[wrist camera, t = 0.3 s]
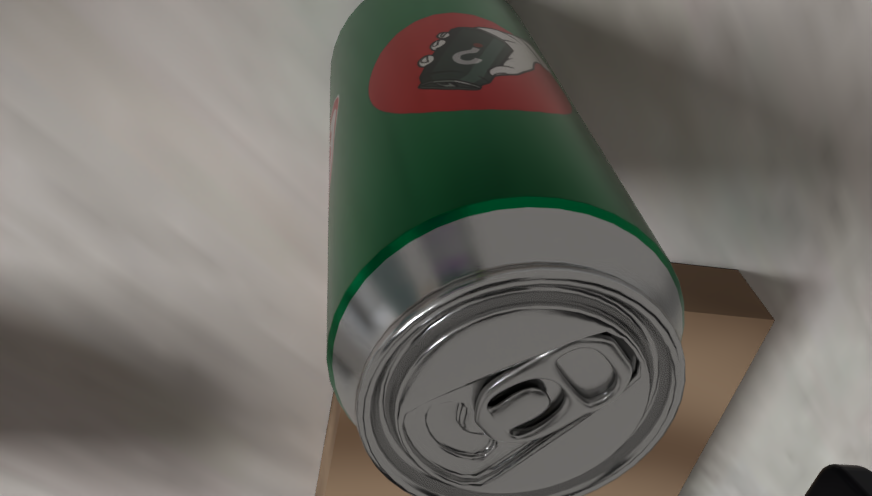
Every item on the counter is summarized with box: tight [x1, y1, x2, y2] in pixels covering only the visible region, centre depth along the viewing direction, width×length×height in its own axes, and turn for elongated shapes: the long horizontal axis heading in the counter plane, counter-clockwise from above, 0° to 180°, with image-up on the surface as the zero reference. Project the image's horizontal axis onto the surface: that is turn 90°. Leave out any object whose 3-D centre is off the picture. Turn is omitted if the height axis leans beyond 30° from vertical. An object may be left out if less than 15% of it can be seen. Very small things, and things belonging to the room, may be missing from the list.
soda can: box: [327, 0, 686, 496], centre depth 15 cm, size 5×5×12 cm
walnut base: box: [315, 263, 775, 496], centre depth 26 cm, size 12×12×2 cm
